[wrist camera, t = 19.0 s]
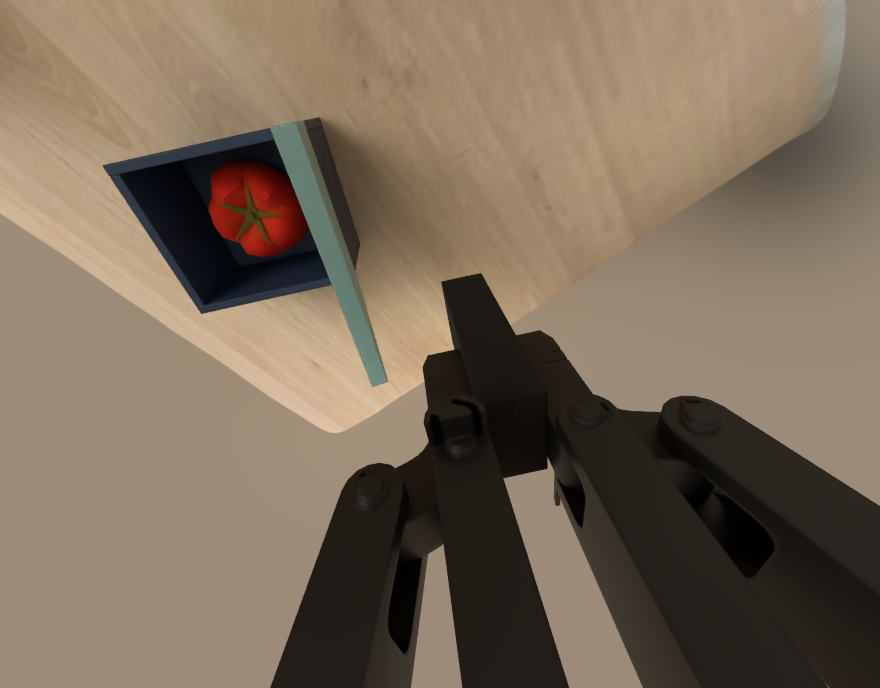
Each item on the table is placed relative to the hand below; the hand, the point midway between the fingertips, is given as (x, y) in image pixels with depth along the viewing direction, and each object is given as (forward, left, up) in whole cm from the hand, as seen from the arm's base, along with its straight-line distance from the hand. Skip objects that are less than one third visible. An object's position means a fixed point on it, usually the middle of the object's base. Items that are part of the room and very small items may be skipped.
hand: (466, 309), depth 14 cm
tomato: (-16, +1, -32) cm, 36 cm away
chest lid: (-7, 0, -13) cm, 15 cm away
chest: (-16, 0, -33) cm, 36 cm away
